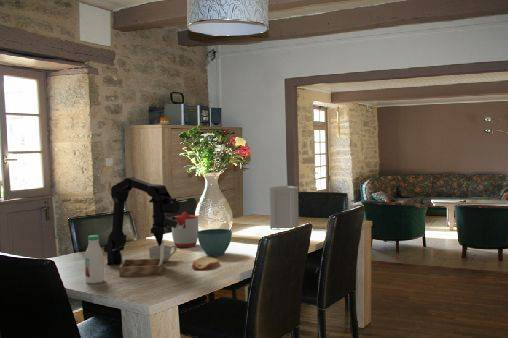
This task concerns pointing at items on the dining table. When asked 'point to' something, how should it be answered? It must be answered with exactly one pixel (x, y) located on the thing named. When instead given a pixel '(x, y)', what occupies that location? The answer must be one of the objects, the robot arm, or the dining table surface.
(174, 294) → the dining table surface
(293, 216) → the tall grey box
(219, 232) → the teal bowl
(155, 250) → the teacup
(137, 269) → the wooden tray
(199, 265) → the slice of bread
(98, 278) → the milk bottle
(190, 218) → the citrus juicer
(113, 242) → the robot arm
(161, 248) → the grey flat panel
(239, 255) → the dining table surface
